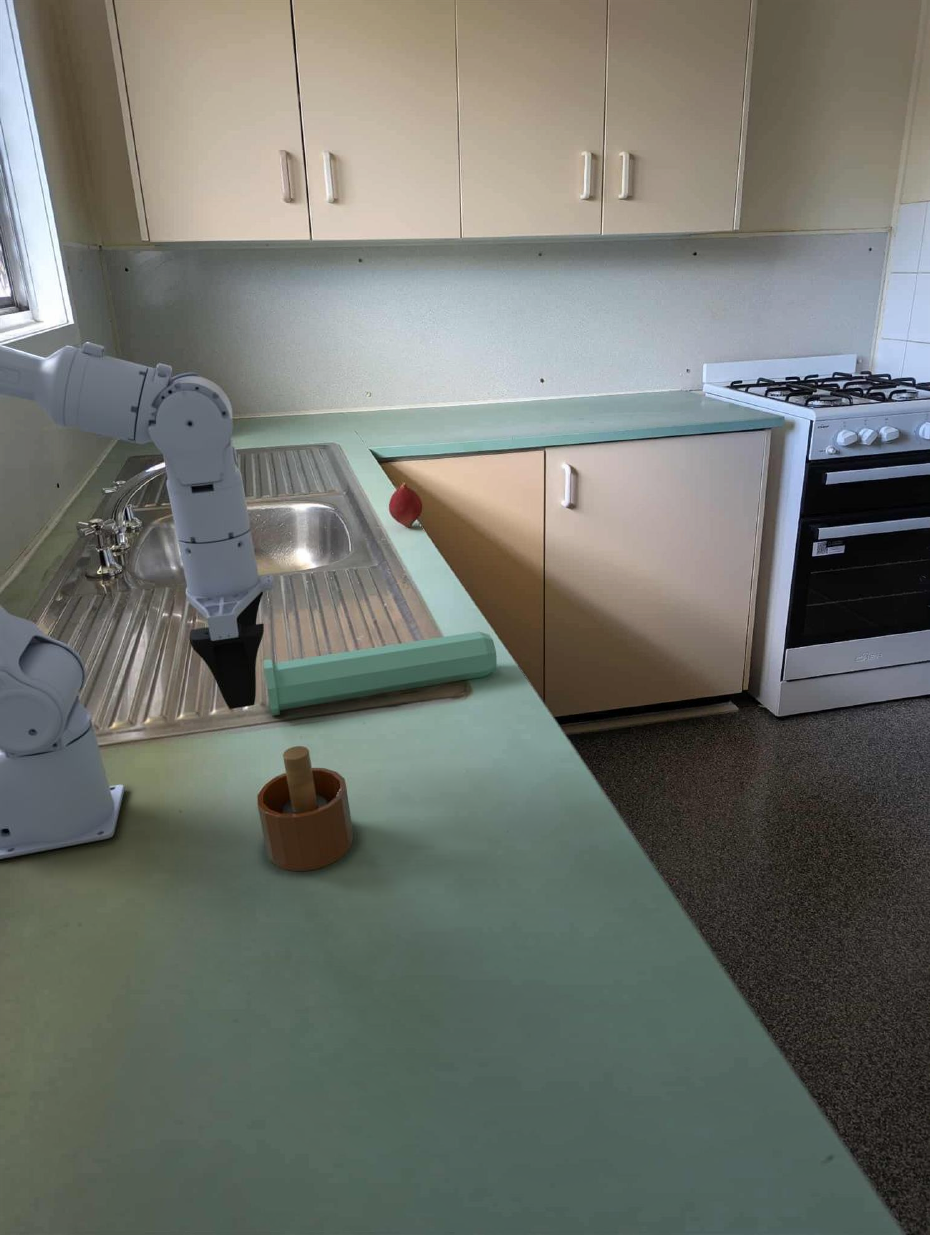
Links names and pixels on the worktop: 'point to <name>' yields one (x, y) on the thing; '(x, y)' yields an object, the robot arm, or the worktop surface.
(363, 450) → the worktop surface
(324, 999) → the worktop surface
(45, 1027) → the worktop surface
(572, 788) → the worktop surface
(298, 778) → the brush
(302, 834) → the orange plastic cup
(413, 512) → the onion
